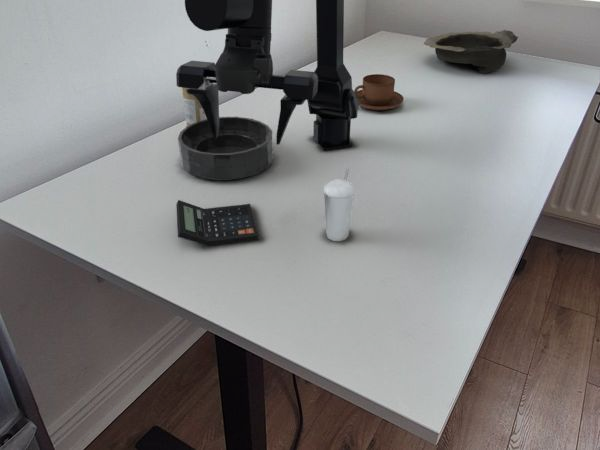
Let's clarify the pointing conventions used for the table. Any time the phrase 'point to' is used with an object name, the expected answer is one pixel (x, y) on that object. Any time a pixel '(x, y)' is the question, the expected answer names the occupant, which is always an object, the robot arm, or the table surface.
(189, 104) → the sprinkles bottle
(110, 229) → the table surface
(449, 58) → the stone bowl
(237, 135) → the dark round bowl
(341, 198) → the milkshake
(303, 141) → the table surface
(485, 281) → the table surface
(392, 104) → the cup and saucer
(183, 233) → the calculator
